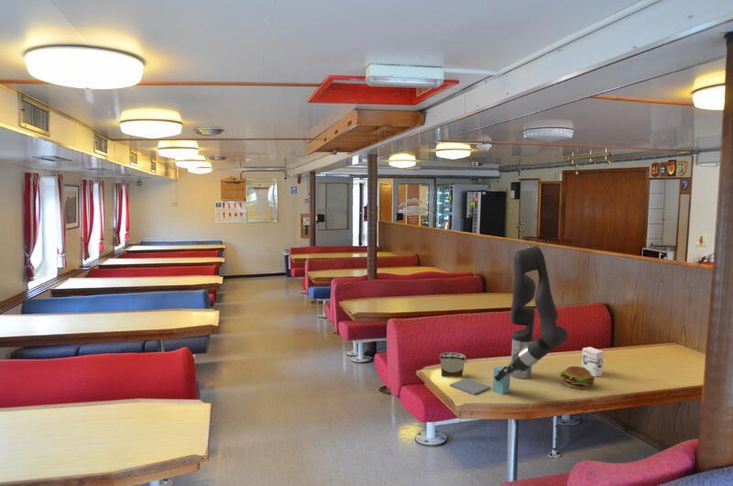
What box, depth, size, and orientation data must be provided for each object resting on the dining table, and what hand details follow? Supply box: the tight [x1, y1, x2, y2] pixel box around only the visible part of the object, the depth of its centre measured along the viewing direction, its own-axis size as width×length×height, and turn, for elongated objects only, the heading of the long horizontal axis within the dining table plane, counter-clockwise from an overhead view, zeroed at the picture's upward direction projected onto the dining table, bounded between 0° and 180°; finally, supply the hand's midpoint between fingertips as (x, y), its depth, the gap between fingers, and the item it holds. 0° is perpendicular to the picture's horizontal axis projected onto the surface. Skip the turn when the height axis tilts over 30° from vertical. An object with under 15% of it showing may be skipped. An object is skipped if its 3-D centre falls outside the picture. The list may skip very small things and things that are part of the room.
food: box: [559, 365, 596, 390], centre depth 228 cm, size 14×14×8 cm
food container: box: [438, 351, 467, 379], centre depth 236 cm, size 12×6×10 cm, turn 84°
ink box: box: [580, 346, 604, 378], centre depth 243 cm, size 9×5×12 cm, turn 26°
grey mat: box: [449, 377, 492, 396], centre depth 221 cm, size 12×13×1 cm
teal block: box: [492, 365, 511, 395], centre depth 218 cm, size 5×5×10 cm
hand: (499, 377), depth 218 cm, fingers closed on teal block, 5 cm apart
